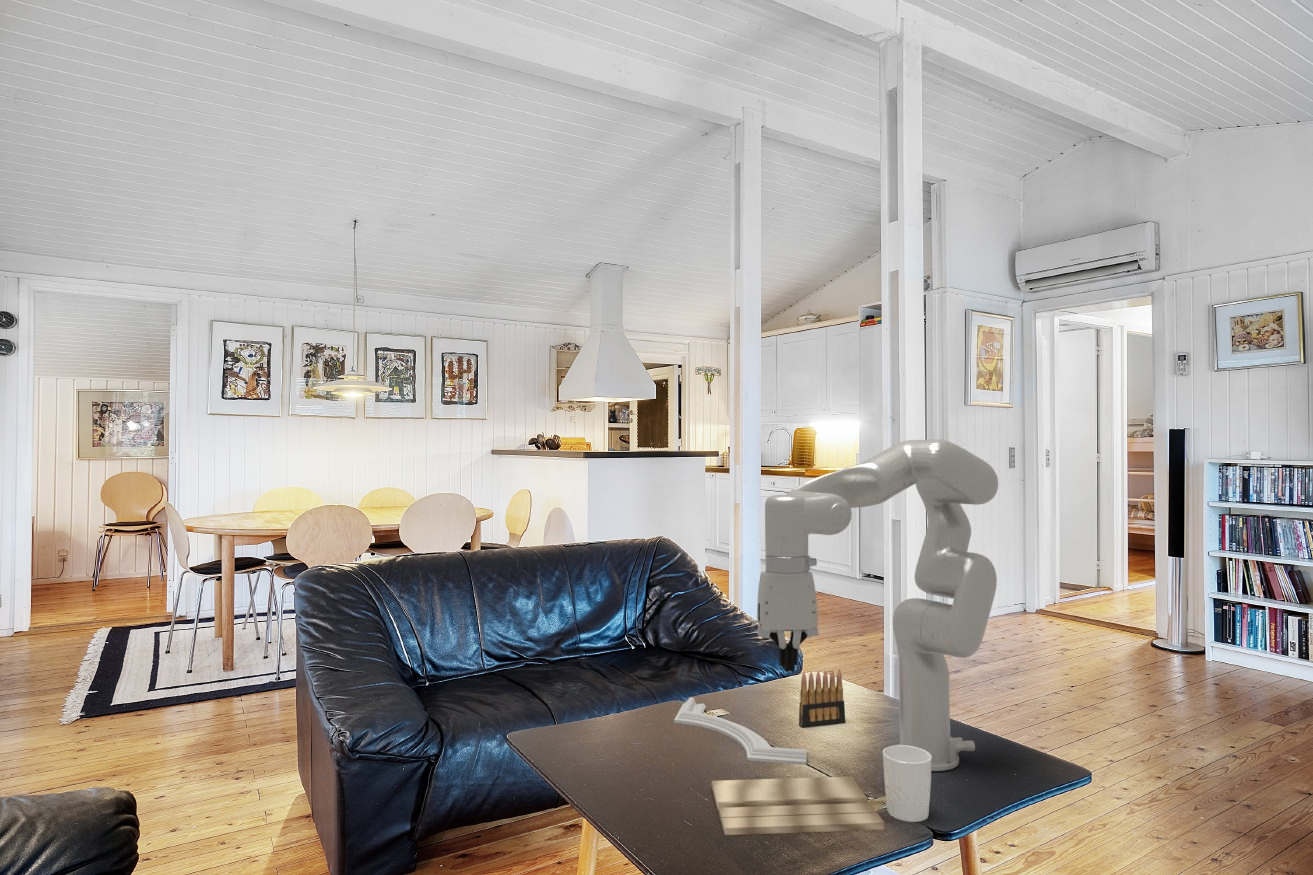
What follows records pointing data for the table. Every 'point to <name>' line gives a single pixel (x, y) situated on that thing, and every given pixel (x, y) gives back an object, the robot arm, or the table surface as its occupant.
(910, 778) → the white cup
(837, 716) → the ammunition clip
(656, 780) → the table surface
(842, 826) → the laid board
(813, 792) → the plank
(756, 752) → the molding
